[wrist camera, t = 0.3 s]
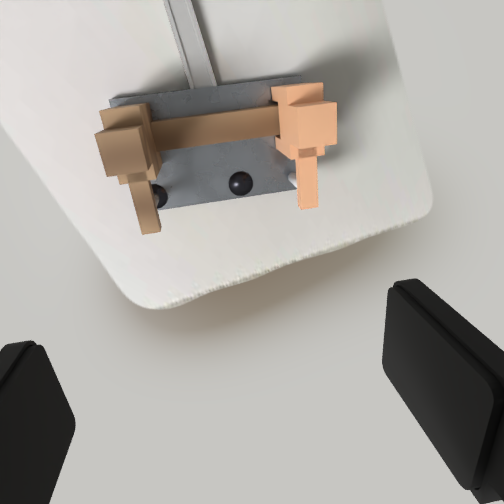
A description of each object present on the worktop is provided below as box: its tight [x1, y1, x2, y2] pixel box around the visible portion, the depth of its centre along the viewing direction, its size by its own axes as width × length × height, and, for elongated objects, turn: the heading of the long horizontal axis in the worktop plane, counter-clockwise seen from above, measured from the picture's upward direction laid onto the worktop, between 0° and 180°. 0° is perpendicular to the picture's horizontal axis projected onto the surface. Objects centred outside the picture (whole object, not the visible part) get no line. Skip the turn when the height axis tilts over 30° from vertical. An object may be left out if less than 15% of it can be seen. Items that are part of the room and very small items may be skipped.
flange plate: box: [109, 76, 301, 210], centre depth 36 cm, size 11×18×1 cm, turn 96°
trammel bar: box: [94, 102, 280, 235], centre depth 31 cm, size 10×18×10 cm, turn 96°
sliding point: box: [271, 82, 337, 210], centre depth 32 cm, size 10×3×9 cm, turn 6°
